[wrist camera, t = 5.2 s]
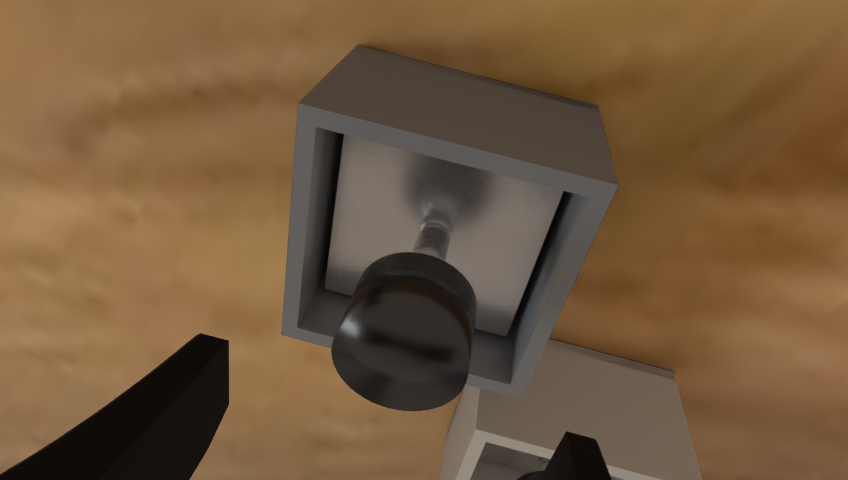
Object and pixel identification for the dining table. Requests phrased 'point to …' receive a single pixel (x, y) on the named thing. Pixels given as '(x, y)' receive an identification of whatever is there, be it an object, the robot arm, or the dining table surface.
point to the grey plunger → (426, 268)
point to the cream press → (577, 418)
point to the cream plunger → (516, 460)
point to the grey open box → (460, 143)
